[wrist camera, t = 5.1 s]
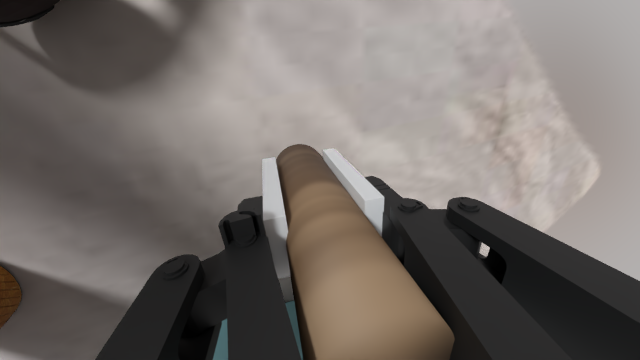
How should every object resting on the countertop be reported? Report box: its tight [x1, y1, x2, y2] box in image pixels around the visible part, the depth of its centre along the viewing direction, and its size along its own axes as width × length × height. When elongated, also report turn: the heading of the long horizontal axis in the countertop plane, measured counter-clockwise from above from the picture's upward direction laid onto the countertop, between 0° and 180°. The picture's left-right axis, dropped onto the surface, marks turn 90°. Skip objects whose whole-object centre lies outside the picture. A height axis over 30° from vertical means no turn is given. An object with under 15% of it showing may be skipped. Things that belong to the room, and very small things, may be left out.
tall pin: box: [276, 144, 455, 360], centre depth 10 cm, size 3×3×12 cm
